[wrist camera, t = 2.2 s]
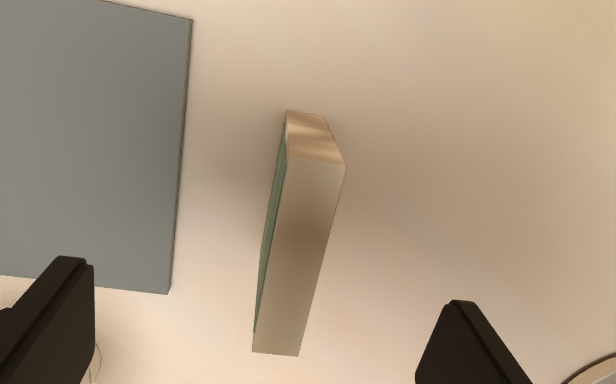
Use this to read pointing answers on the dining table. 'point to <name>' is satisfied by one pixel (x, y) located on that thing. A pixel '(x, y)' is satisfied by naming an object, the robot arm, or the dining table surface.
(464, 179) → the dining table surface
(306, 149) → the tile
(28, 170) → the mat
